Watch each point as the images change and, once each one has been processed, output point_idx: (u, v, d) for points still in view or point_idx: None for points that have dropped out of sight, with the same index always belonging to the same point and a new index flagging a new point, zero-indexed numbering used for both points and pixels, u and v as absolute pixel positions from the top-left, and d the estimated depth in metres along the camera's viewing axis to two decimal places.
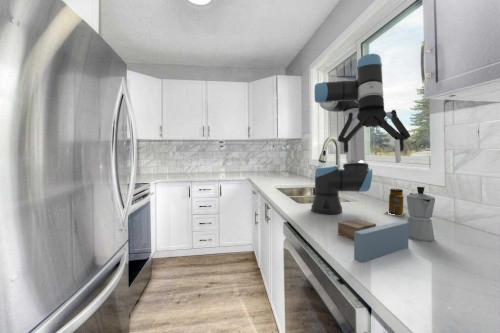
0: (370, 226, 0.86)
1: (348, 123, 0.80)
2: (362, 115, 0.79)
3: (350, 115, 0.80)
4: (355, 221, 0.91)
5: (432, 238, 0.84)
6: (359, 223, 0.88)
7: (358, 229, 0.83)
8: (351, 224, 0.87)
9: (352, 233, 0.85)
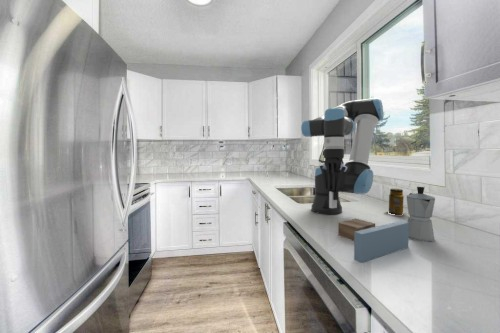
0: (370, 226, 0.86)
1: (323, 174, 1.00)
2: (326, 162, 0.99)
3: (321, 167, 1.01)
4: (355, 221, 0.91)
5: (432, 238, 0.84)
6: (359, 223, 0.88)
7: (359, 229, 0.83)
8: (351, 224, 0.86)
9: (353, 233, 0.84)
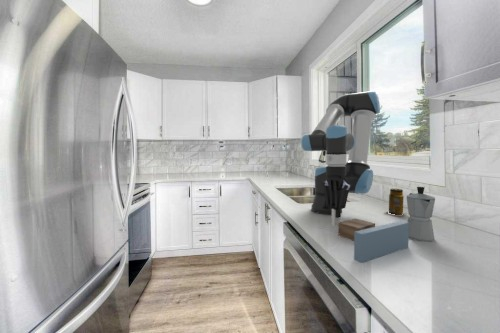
0: (370, 226, 0.87)
1: (325, 191, 1.00)
2: (328, 179, 0.98)
3: (323, 184, 1.01)
4: (354, 221, 0.91)
5: (432, 238, 0.84)
6: (359, 223, 0.88)
7: (360, 229, 0.83)
8: (352, 225, 0.86)
9: (353, 233, 0.84)
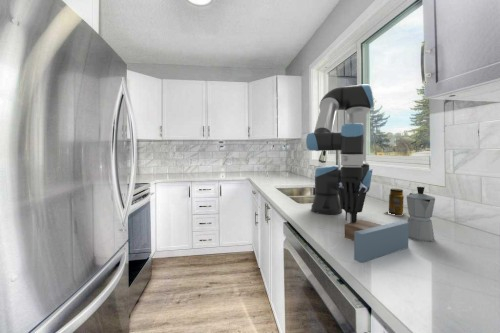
0: None
1: (340, 193, 0.93)
2: (343, 181, 0.92)
3: (337, 186, 0.94)
4: (361, 222, 0.89)
5: (432, 238, 0.84)
6: (366, 224, 0.86)
7: None
8: (358, 226, 0.84)
9: None
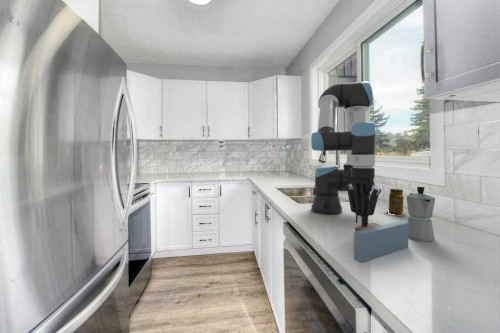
0: None
1: (349, 195, 0.89)
2: (354, 182, 0.88)
3: (347, 188, 0.90)
4: (373, 226, 0.85)
5: (432, 238, 0.84)
6: None
7: None
8: None
9: None
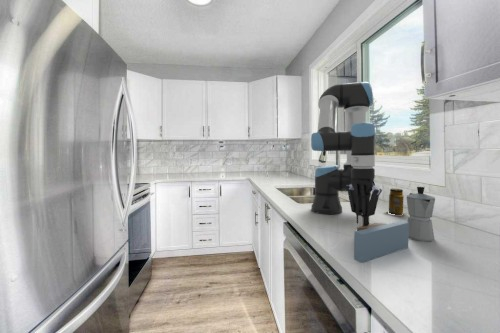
0: None
1: (350, 195, 0.90)
2: (354, 183, 0.88)
3: (347, 188, 0.91)
4: (374, 225, 0.85)
5: (432, 238, 0.84)
6: (379, 225, 0.82)
7: None
8: (371, 227, 0.81)
9: None
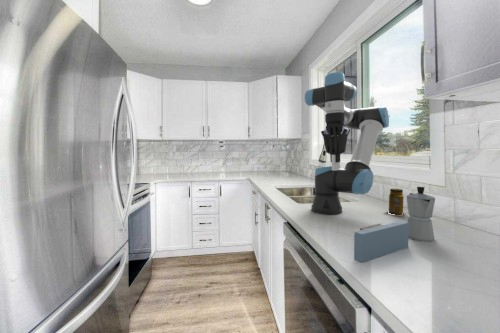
0: None
1: (325, 139, 1.04)
2: (328, 127, 1.02)
3: (322, 133, 1.05)
4: None
5: (432, 238, 0.84)
6: None
7: None
8: None
9: None
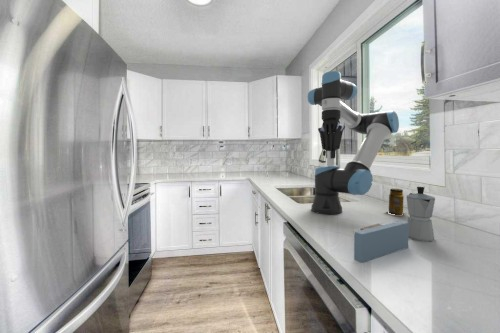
0: None
1: (321, 135, 1.07)
2: (324, 124, 1.05)
3: (319, 130, 1.08)
4: None
5: (432, 238, 0.84)
6: None
7: None
8: None
9: None
